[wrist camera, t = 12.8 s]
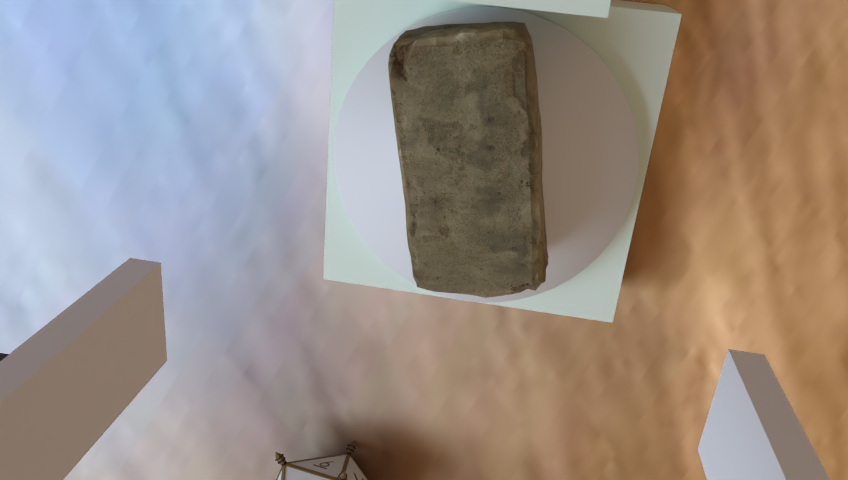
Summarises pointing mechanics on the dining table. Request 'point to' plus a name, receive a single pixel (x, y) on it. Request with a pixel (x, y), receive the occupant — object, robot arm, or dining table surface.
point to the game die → (322, 467)
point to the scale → (561, 140)
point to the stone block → (470, 157)
